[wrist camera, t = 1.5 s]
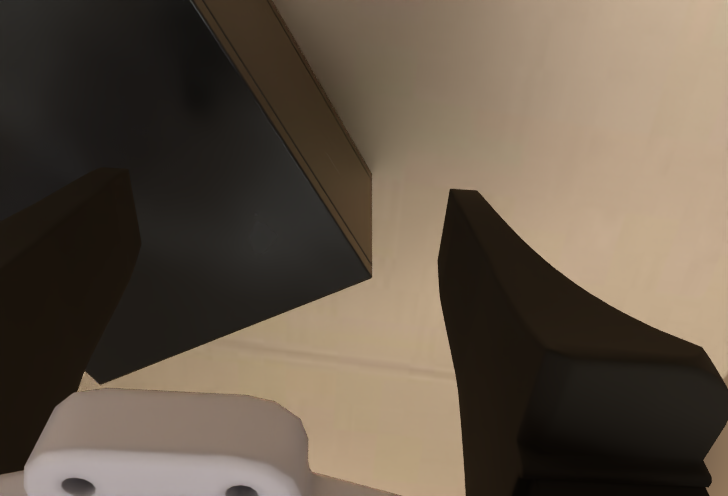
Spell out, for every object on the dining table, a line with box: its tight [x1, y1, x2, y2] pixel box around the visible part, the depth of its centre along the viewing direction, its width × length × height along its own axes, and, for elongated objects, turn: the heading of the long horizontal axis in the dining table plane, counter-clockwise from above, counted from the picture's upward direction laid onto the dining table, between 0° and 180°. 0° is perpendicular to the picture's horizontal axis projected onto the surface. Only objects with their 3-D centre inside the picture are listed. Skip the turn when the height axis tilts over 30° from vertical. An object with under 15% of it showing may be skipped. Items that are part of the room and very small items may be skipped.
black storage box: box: [0, 0, 372, 384], centre depth 21 cm, size 13×11×7 cm
